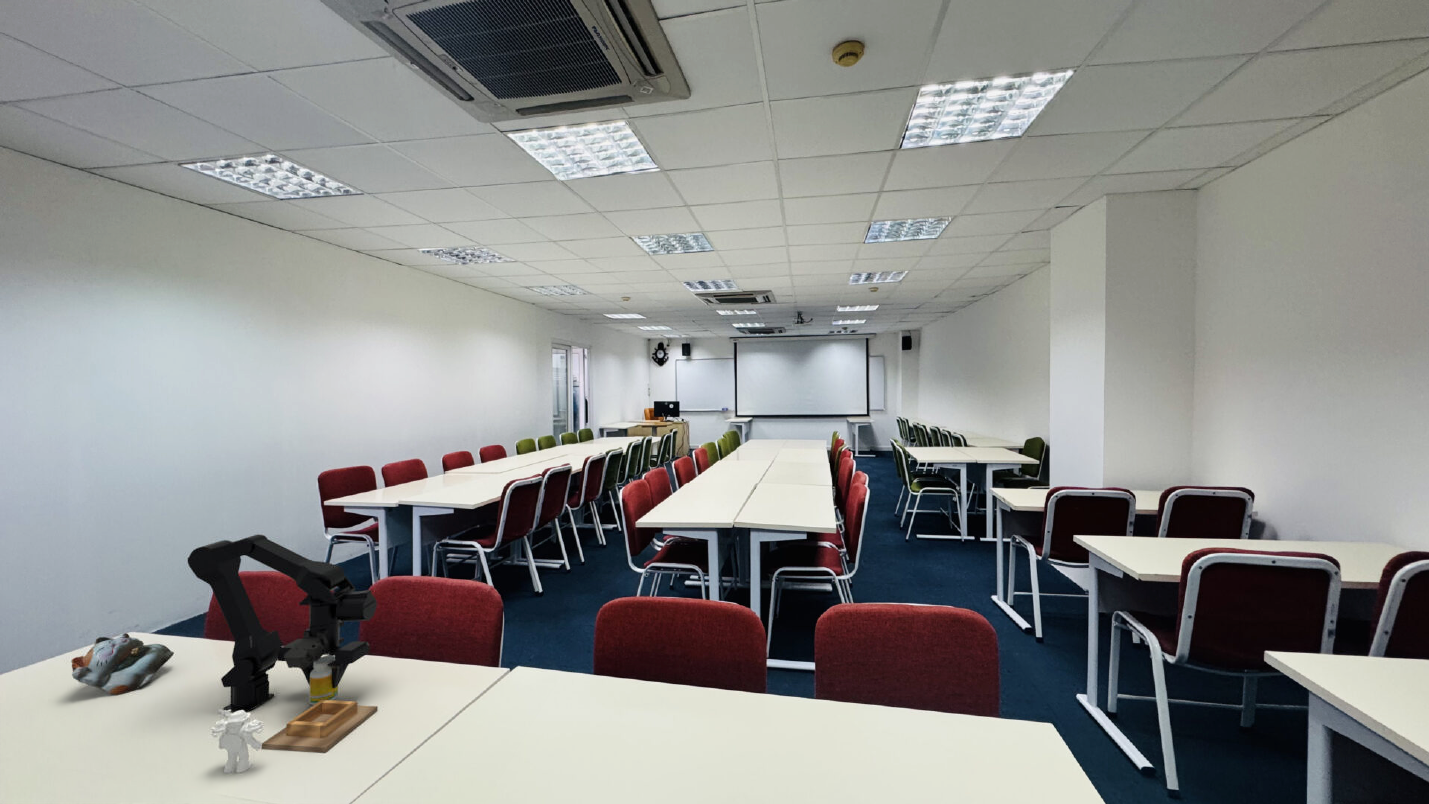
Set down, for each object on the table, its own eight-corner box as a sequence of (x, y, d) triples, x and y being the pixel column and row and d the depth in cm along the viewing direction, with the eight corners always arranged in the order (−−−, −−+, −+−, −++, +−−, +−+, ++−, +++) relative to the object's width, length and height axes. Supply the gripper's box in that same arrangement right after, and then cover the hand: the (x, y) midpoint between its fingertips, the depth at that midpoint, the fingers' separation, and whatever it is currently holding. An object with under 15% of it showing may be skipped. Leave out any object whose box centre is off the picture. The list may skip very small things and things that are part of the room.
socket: (261, 748, 102) (261, 731, 102) (320, 707, 116) (320, 692, 116) (325, 752, 101) (325, 735, 101) (377, 710, 115) (377, 695, 115)
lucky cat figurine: (132, 696, 120) (89, 654, 116) (86, 715, 120) (40, 674, 116) (187, 649, 134) (150, 610, 130) (145, 667, 134) (107, 628, 130)
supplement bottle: (309, 698, 120) (309, 658, 120) (337, 690, 123) (337, 651, 123) (309, 709, 115) (310, 667, 116) (338, 700, 119) (338, 660, 119)
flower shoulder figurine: (204, 775, 95) (205, 712, 95) (225, 761, 99) (226, 699, 99) (251, 776, 94) (252, 712, 95) (270, 761, 98) (271, 700, 99)
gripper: (255, 635, 112) (254, 705, 112) (332, 638, 111) (332, 709, 110) (300, 614, 123) (299, 678, 123) (371, 617, 122) (370, 681, 122)
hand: (323, 686), depth 119 cm, fingers closed on supplement bottle, 5 cm apart
